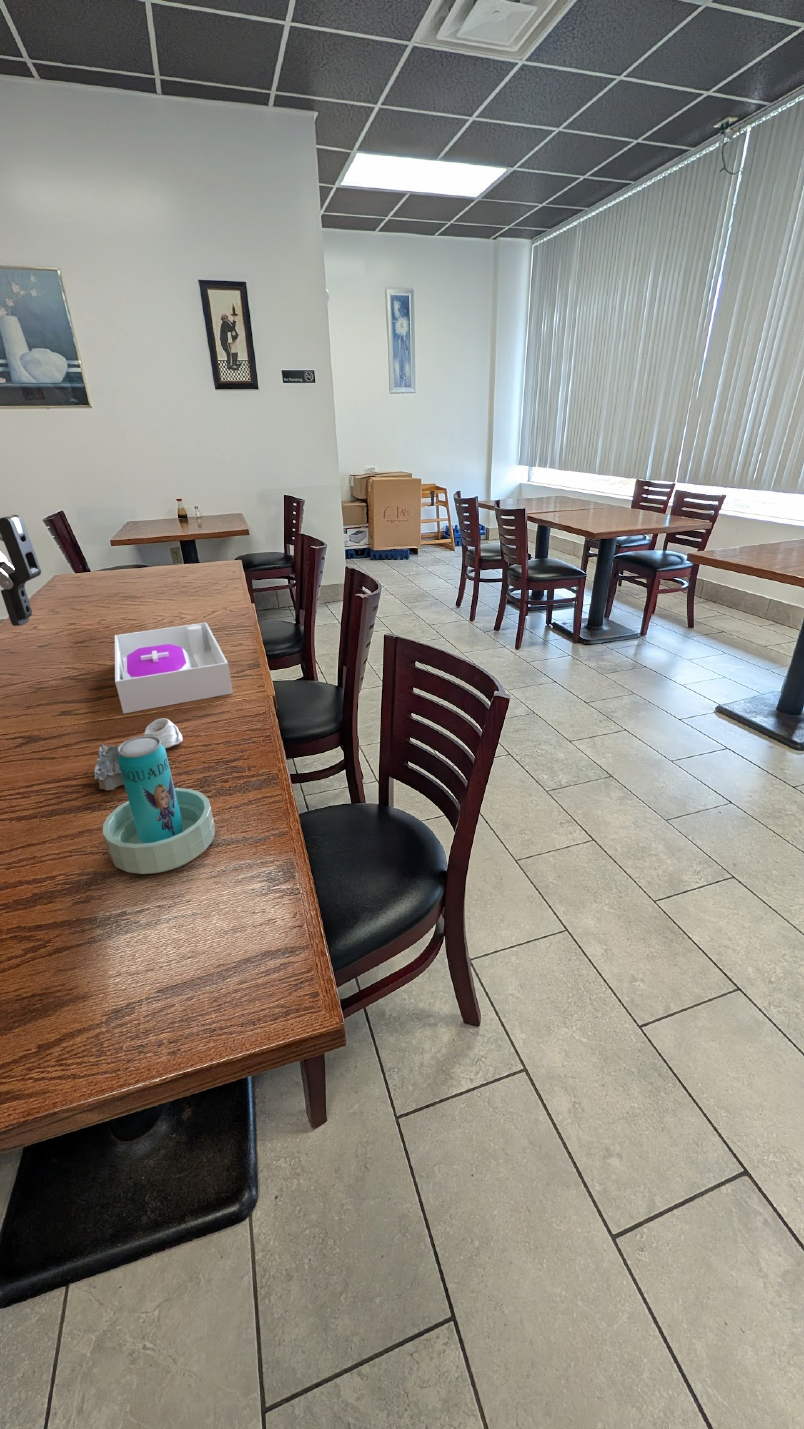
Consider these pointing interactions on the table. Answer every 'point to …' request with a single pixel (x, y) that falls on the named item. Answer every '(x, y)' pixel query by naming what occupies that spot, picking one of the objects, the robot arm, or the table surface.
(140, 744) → the beverage can
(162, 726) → the white hollow rounded piece
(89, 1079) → the table surface
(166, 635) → the white open box
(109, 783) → the grey sculpture
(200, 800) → the bowl
